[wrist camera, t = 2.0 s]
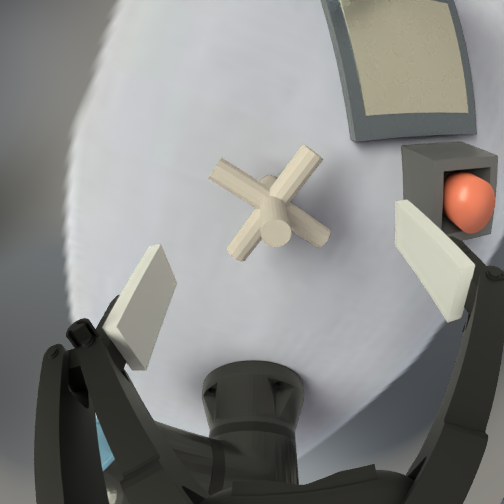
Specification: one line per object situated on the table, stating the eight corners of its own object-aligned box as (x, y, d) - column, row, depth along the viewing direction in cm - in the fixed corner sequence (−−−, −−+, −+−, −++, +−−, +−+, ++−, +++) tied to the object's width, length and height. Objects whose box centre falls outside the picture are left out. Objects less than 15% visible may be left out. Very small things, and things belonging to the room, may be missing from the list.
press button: (474, 215, 22) (491, 229, 19) (437, 222, 23) (454, 237, 20) (477, 167, 20) (497, 178, 17) (438, 171, 20) (458, 182, 18)
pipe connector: (345, 173, 25) (387, 215, 17) (281, 252, 30) (290, 320, 21) (254, 108, 23) (252, 113, 14) (194, 199, 27) (165, 252, 18)
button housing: (459, 209, 26) (490, 233, 21) (403, 219, 27) (430, 247, 22) (461, 141, 23) (497, 155, 18) (400, 145, 24) (433, 160, 18)
